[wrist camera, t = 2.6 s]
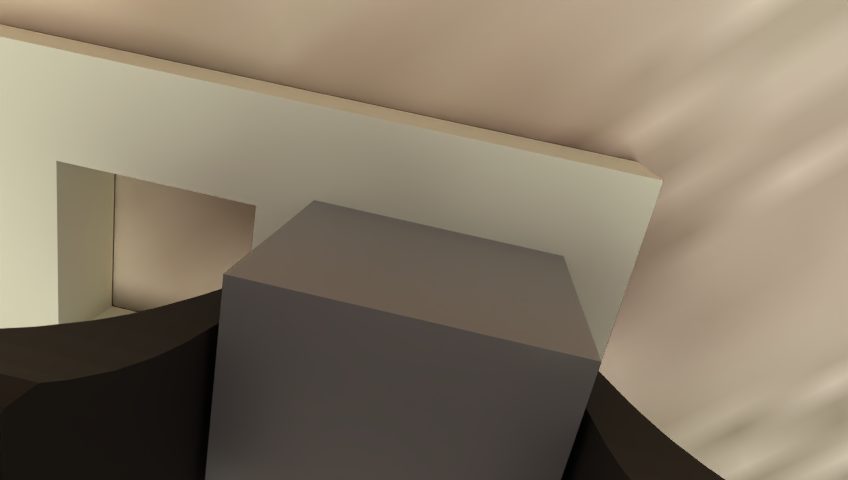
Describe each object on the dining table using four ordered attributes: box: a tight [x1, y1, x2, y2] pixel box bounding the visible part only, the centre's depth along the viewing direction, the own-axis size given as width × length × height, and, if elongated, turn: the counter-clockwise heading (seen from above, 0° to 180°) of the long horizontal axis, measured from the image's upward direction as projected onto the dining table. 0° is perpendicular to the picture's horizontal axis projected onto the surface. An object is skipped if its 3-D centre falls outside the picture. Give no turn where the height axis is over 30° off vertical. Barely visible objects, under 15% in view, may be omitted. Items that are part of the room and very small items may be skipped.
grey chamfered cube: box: [205, 200, 601, 480], centre depth 10 cm, size 5×5×4 cm
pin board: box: [0, 24, 663, 361], centre depth 13 cm, size 20×15×5 cm
